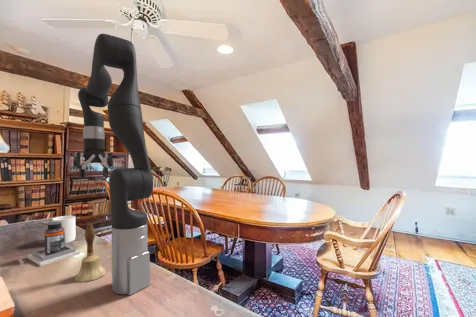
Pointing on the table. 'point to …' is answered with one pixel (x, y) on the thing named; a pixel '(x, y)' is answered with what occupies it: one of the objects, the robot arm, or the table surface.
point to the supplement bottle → (54, 238)
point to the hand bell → (90, 260)
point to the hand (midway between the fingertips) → (94, 177)
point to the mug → (67, 227)
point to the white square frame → (52, 255)
